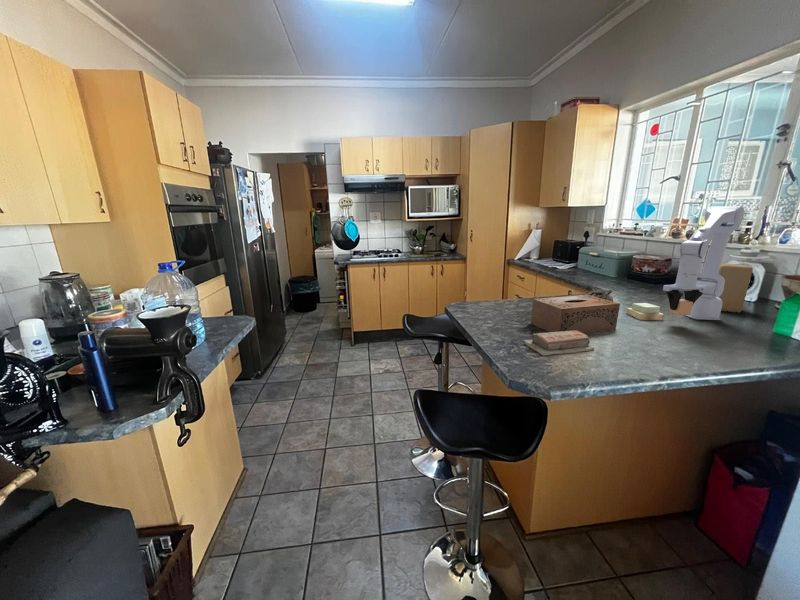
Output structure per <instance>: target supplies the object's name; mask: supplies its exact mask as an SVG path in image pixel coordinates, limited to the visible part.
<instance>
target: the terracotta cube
mask: <svg viewBox="0 0 800 600" xmlns="http://www.w3.org/2000/svg"><path fill="white" fill-rule="evenodd" d="M692 305H693V302H691V301H688V300H685V298H680V301H679V303H678V307H677V309H676V310H672V309H670V305H669V307H668V313H672V314H674V315H676V316H686V315H690V313H691V309H692Z"/></svg>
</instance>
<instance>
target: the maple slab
mask: <svg viewBox="0 0 800 600" xmlns="http://www.w3.org/2000/svg"><path fill="white" fill-rule="evenodd" d="M625 314H626V315H628V316H630V315H631V316H630V317H632V316H633V317H632V318H634V317H635V318H634V319H637V320H639V321H664V317H665V314H664V313H662V312H661V311H659V313H642V312H639V311H636V310H632V307H627V308H626V312H625Z"/></svg>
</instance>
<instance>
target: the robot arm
mask: <svg viewBox="0 0 800 600" xmlns="http://www.w3.org/2000/svg"><path fill="white" fill-rule="evenodd" d="M705 210H706V211H705V213H704V224H703V226H702V227H699V228H697V229H696V230H695V231H694V232H693V234H692V235H691V236H690V237H689V239H688V240H685V241H682V242H681V244H680V246H679V250H678V253H679V255H678V256H679V258H678V261H679V265H678V270H677V275H676V279H675V283H674V284H664V285H663V288H662V291H664V292H665V294H666V296H667V298H668V303H669V306H670V309H672V310H676V309H677V307H678V303H679V301H680V299H682V297H683V295H684V299H685V300H688V301H691V302H693V305H692V309H691V313H690V315H685V316H686V317H688V318H691V319H694V320H703V321H706V320H708V321H710V320H711V321H721V320H722V318H720V316H721V312H722V311H721V308H722V300H721V299H720V298H719V296H721V294H722V293H723V290H724V283H725V279H724V278H723V277H722V276H721V275H720V274H719V273H718V271H719V268H720V265H721V263H723V262H722V261H723V259H724V255H725V251H726V249H727V246H728V243H729V240H730V237H731V235H732V233H733V232H734V231H736V230H740V227H741V224H742V221H743V218H744V217H745V216H744V215H745V208H744V206H743V205H734V206H730V205H728V206H727V205H726V206H722V205H721V206H712V205H711V206H709V207H708V208H706V209H705ZM705 256H706V257H705ZM704 257H705V260H704V263H703V267H702V269H701V271H700V268H701V264H702V259H703V258H704ZM712 280H717V281H712ZM681 291H682V292H681ZM683 292H684V293H683Z"/></svg>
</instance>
